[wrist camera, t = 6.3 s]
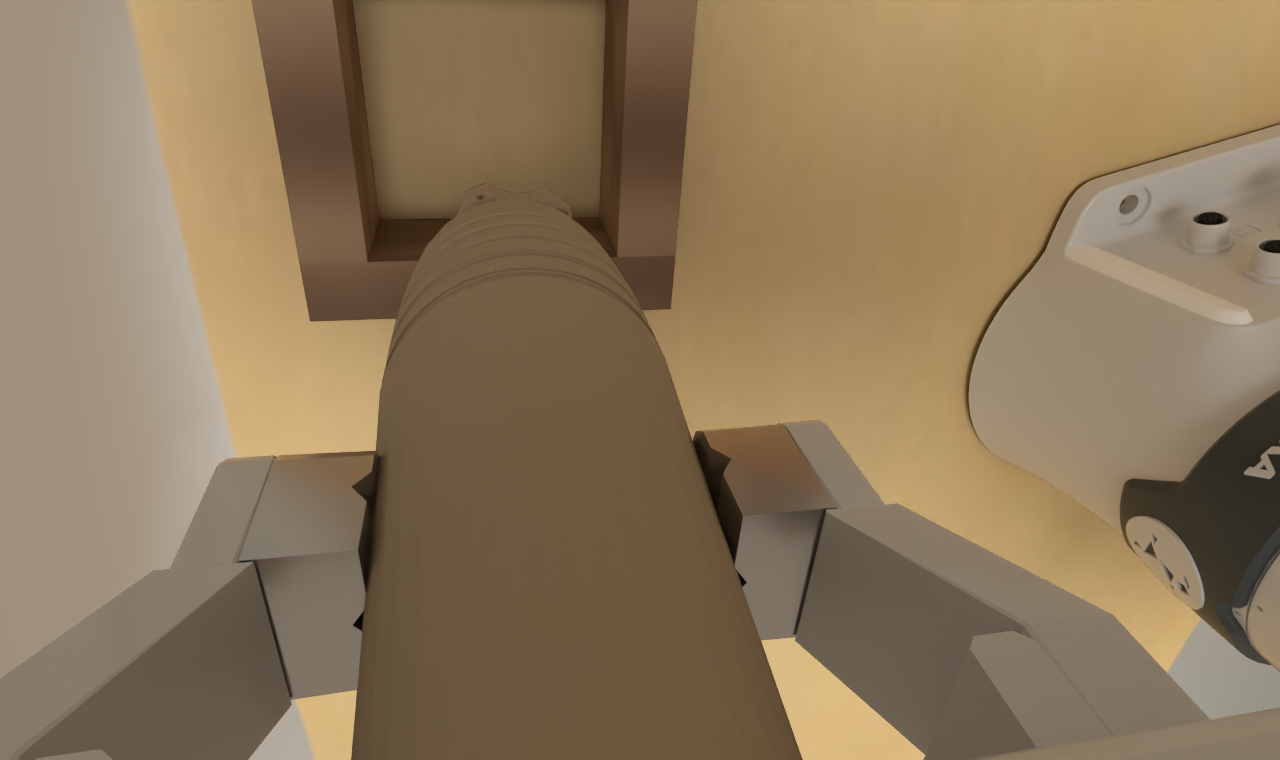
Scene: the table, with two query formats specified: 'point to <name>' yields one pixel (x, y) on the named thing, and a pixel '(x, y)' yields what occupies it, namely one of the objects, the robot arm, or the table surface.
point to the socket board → (390, 249)
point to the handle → (546, 521)
